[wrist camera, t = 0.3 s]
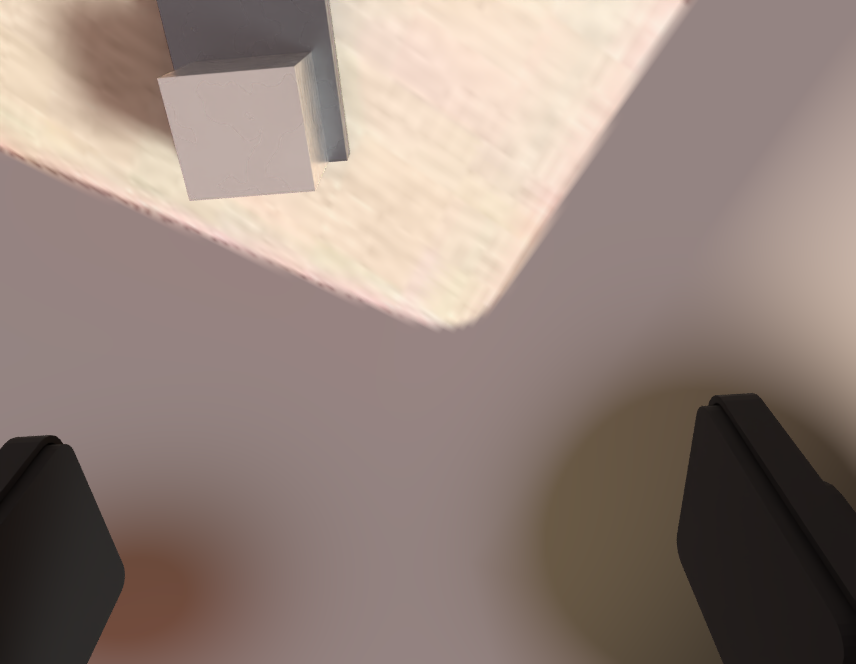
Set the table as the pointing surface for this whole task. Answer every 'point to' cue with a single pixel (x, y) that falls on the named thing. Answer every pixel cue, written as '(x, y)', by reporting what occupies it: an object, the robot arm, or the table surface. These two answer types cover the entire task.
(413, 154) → the table surface
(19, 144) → the table surface
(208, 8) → the rail board
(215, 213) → the table surface
